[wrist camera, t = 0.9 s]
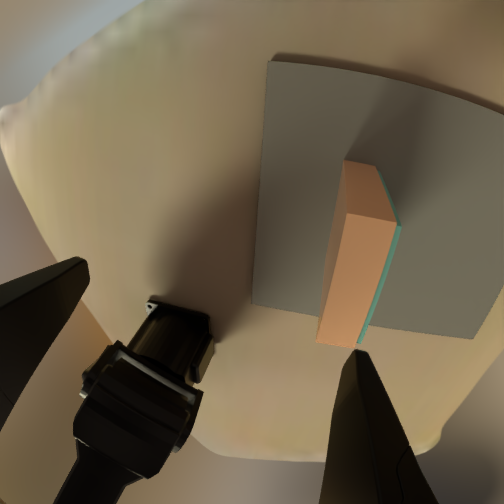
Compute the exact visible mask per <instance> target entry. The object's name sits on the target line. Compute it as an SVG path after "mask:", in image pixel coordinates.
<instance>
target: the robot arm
mask: <svg viewBox="0 0 504 504" xmlns="http://www.w3.org/2000/svg"><path fill="white" fill-rule="evenodd" d="M89 282H90V275H89V269H88V263H87V261H86V260H85V259H83V258H80V257H77V256H76V257H73V258H70V259H67V260H64V261H62V262H59V263H56V264H54V265H51V266H48V267H46V268H43V269H40V270H37V271H35V272H32V273H29V274H27V275H24V276H22V277H19V278H16V279H14V280H11V281H9V282H6V283H4V284H1V285H0V431H1V429H2V427H3V426H4V424H5V421H6V420H7V418H8V416H9V414H10V413H11V411H12V409H13V407H14V405H15V403H16V402H17V400H18V398H19V396H20V394H21V393H22V391H23V389H24V388H25V386H26V384H27V383H28V381H29V379H30V377H31V376H32V375H33V373H34V371H35V370H36V368H37V366H38V365H39V363H40V362H41V360H42V358H43V357H44V355H45V354H46V352H47V351H48V349H49V347H50V346H51V344H52V343H53V342H54V340H55V338H56V337H57V336H58V334H59V333H60V331H61V330H62V328H63V327H64V325H65V324H66V322H67V321H68V319H69V318H70V316H71V314H72V312H73V311H74V309H75V307H76V306H77V304H78V302H79V300H80V299H81V297H82V295H83V293H84V292H85V290H86V288H87V287H88V285H89ZM145 306H146V311H147V316H148V317H147V318H146V320H145V321H144V322H143V324H142V325H141V327H140V328H139V330H138V331H137V332H136V334H135V335H134V337H133V338H132V340H131V341H130V342H129V344H128V345H127V347H126V346H125V345H123V343H122V342H120V341H119V340H117V341H116V342H115V343H114V345H108V346H107V347H106V349H105V350H104V352H103V353H102V354H101V356H100V357H99V358H98V359H97V360H96V361H95V362H94V363H92V364H91V365H90V366H89V367H88V368H87V369H86V370H85V371H84V372H83V374H82V380H83V385H82V389H81V392H80V397H82V398H83V399H84V401H83V403H82V405H81V407H80V409H79V410H78V412H77V414H76V416H75V419H74V422H73V436H74V437H75V438H76V449H77V460H76V462H75V463H74V465H73V467H72V469H71V471H70V472H69V474H68V476H67V478H66V480H65V482H64V484H63V485H62V487H61V489H60V491H59V493H58V495H57V497H56V499H55V501H54V503H53V504H116V503H117V501H118V499H119V497H120V496H121V494H122V492H123V490H124V489H125V487H126V486H127V485H130V484H132V483H134V482H136V481H138V480H140V479H143V478H145V479H149V478H151V477H153V476H154V475H156V474H157V473H159V471H160V469H161V468H162V467H163V465H164V463H165V462H166V460H167V458H168V456H169V455H170V453H171V451H172V452H174V453H176V452H178V451H179V450H180V449H181V447H182V446H183V445H184V443H185V442H186V440H187V438H188V437H189V435H190V433H191V430H192V428H193V426H194V423H195V419H196V416H197V413H198V410H199V406H200V403H201V400H202V396H203V393H204V392H203V391H201V390H199V389H198V390H197V389H195V388H194V387H193V384H194V383H197V384H198V383H200V382H201V380H202V378H203V376H204V374H205V372H206V369H207V367H208V365H209V363H210V360H211V358H212V356H213V354H214V343H213V336H212V334H211V330H210V317H209V316H208V315H206V314H203V313H199V312H195V311H191V310H187V309H183V308H179V307H175V306H171V305H167V304H164V303H160V302H156V301H152V300H148V301H147V303H146V304H145ZM204 319H205V320H204ZM0 504H6V503H5V502H4V501H3V500H2V499H0ZM319 504H439V503H438V501H437V499H436V498H435V495H434V494H433V492H432V490H431V488H430V486H429V484H428V483H427V480H426V478H425V476H424V474H423V473H422V471H421V469H420V466H419V464H418V462H417V460H416V457H415V455H414V453H413V450H412V448H411V446H409V441H408V439H407V437H406V434H405V432H404V430H403V427H402V425H401V423H400V421H399V418H398V416H397V414H396V412H395V409H394V407H393V405H392V403H391V401H390V398H389V396H388V394H387V392H386V390H385V388H384V385H383V383H382V381H381V379H380V377H379V375H378V373H377V371H376V368H375V366H374V364H373V362H372V360H371V358H370V356H369V354H368V353H367V352H366V351H362V350H358V349H355V350H354V351H353V352H352V353H351V355H350V356H349V358H348V359H347V361H346V362H345V364H344V366H343V368H342V372H341V377H340V382H339V386H338V391H337V395H336V400H335V404H334V408H333V413H332V419H331V427H330V435H329V443H328V450H327V457H326V464H325V470H324V476H323V483H322V488H321V494H320V500H319Z"/></svg>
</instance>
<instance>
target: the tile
mask: <svg viewBox="0 0 504 504" xmlns="http://www.w3.org/2000/svg"><path fill="white" fill-rule="evenodd" d="M401 229H402V225H401V222H400V220H399V217H398V214H397V212H396V209H395V207H394V204H393V202H392V199H391V197H390V194H389V192H388V189H387V187H386V184H385V182H384V180H383V177H382V175H381V173H380V171H378V170H377V169H376V167H375V166H373V165H368V164H363V163H358V162H353V161H347V160H343V165H342V171H341V177H340V183H339V189H338V195H337V201H336V206H335V212H334V217H333V222H332V228H331V233H330V238H329V243H328V248H327V253H326V258H325V268H324V277H323V287H322V295H321V304H320V312H319V320H318V328H317V335H316V342H318V343H324V344H330V345H336V346H342V347H348V348H354V347H355V345H356V343H359V344H361V342H362V340H363V337H364V335H365V332H366V330H367V327H368V325H369V322H370V320H371V317H372V315H373V312H374V309H375V307H376V304H377V301H378V299H379V296H380V293H381V290H382V288H383V285H384V282H385V279H386V276H387V273H388V270H389V267H390V264H391V261H392V258H393V255H394V252H395V248H396V245H397V242H398V239H399V235H400V232H401Z"/></svg>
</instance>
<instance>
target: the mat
mask: <svg viewBox="0 0 504 504" xmlns="http://www.w3.org/2000/svg"><path fill="white" fill-rule="evenodd" d="M343 160H347V161H353V162H358V163H363V164H368V165H373V166H375V167H376V169H377V170H378V171H380V173H381V175H382V177H383V180H384V182H385V184H386V187H387V189H388V192H389V194H390V197H391V199H392V202H393V204H394V207H395V209H396V212H397V214H398V217H399V220H400V222H401V225H402V229H401V232H400V235H399V239H398V242H397V245H396V248H395V252H394V255H393V258H392V261H391V264H390V267H389V270H388V273H387V276H386V279H385V282H384V285H383V288H382V290H381V293H380V296H379V299H378V301H377V304H376V307H375V309H374V312H373V315H372V317H371V320H370V322H369V325H371V326H377V327H384V328H390V329H397V330H404V331H411V332H418V333H425V334H433V335H441V336H449V337H457V338H465V339H473V338H474V337H475V335H476V334H477V332H478V330H479V329H480V327H481V325H482V324H483V322H484V320H485V319H486V317H487V315H488V313H489V312H490V310H491V308H492V306H493V304H494V302H495V301H496V299H497V297H498V295H499V293H500V291H501V289H502V287H503V285H504V115H502V114H500V113H498V112H495V111H493V110H490V109H488V108H485V107H483V106H480V105H477V104H475V103H472V102H469V101H466V100H464V99H461V98H458V97H455V96H452V95H449V94H445V93H442V92H439V91H436V90H432V89H429V88H426V87H422V86H418V85H415V84H411V83H407V82H403V81H399V80H395V79H390V78H386V77H381V76H377V75H372V74H367V73H362V72H356V71H351V70H345V69H338V68H332V67H325V66H317V65H309V64H300V63H289V62H277V61H268V66H267V82H266V96H265V111H264V126H263V141H262V156H261V170H260V185H259V199H258V214H257V228H256V242H255V257H254V271H253V285H252V299H251V304H255V305H260V306H265V307H270V308H275V309H280V310H286V311H291V312H296V313H301V314H307V315H312V316H318V317H319V312H320V304H321V295H322V287H323V277H324V268H325V258H326V253H327V248H328V243H329V238H330V233H331V228H332V222H333V217H334V212H335V206H336V201H337V195H338V189H339V183H340V177H341V171H342V165H343Z"/></svg>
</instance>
